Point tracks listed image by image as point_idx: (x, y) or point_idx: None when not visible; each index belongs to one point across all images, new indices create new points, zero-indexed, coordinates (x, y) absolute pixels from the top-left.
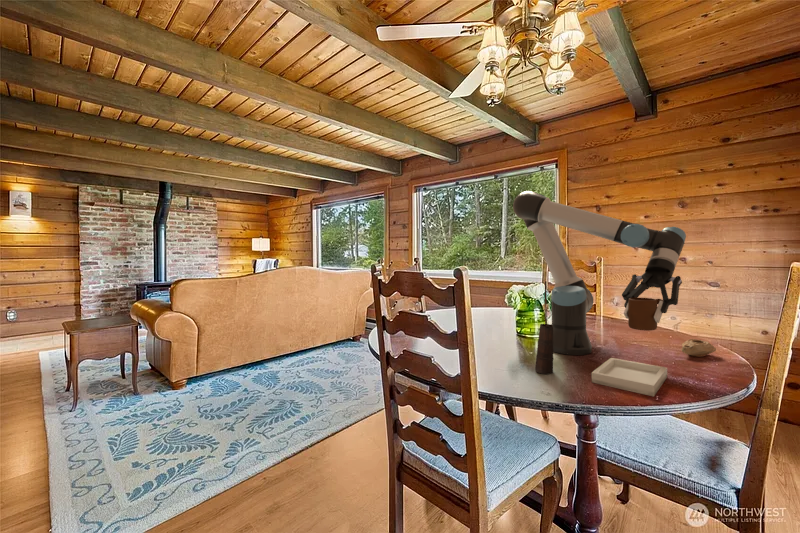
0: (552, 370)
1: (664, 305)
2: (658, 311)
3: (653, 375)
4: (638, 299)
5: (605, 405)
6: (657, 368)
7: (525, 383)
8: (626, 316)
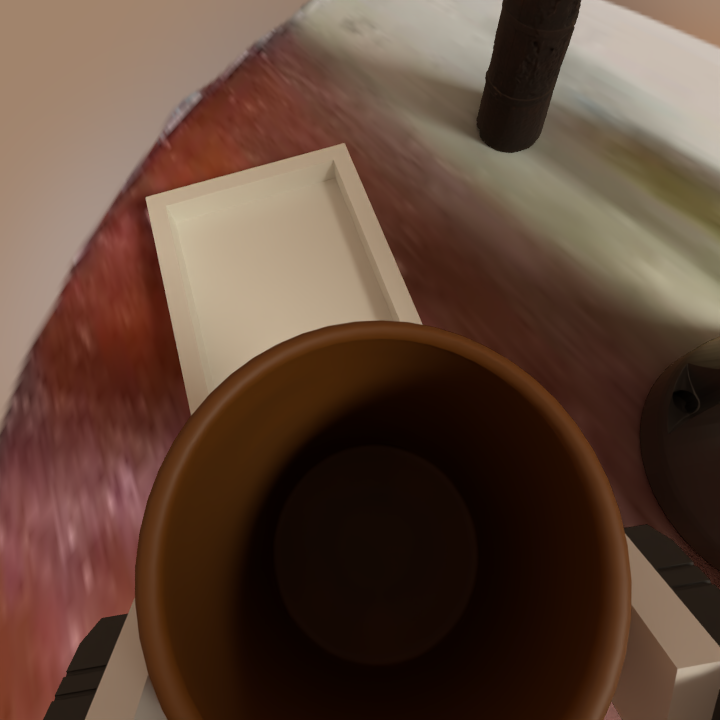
0: (481, 128)
1: (74, 716)
2: None
3: None
4: (562, 712)
5: (218, 79)
6: None
7: (442, 27)
8: None
